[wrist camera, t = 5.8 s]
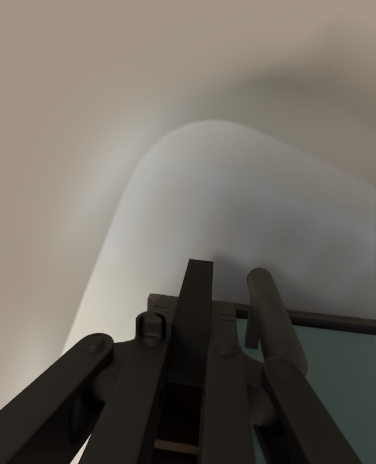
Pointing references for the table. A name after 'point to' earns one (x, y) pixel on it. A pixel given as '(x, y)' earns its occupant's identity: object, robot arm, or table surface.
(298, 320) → the cabinet
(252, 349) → the glass door
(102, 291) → the table surface
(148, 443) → the robot arm
